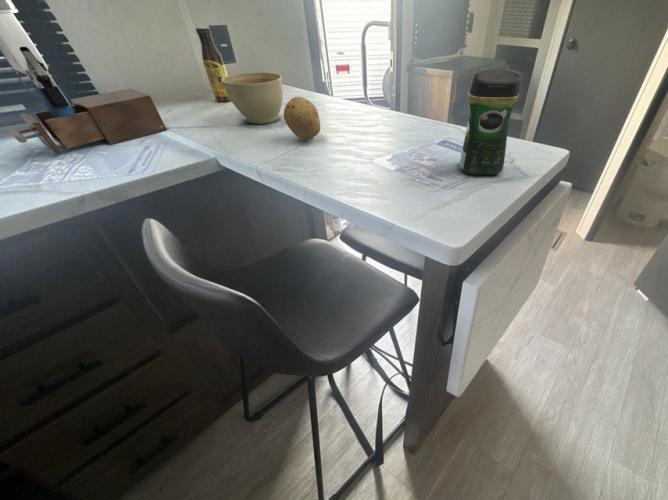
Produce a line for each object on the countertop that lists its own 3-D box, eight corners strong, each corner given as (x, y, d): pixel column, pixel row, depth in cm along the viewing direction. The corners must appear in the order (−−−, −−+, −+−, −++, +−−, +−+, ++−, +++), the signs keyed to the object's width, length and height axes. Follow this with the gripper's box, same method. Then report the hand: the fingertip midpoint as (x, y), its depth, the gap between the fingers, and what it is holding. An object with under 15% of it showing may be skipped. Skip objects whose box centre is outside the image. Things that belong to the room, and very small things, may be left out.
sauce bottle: (212, 101, 111) (184, 27, 96) (223, 97, 115) (198, 25, 101) (229, 103, 110) (203, 28, 95) (239, 98, 114) (216, 26, 100)
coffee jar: (499, 162, 74) (520, 65, 60) (503, 177, 68) (528, 74, 55) (458, 161, 74) (470, 64, 61) (459, 175, 69) (472, 73, 55)
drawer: (33, 159, 74) (7, 128, 69) (21, 148, 79) (-4, 118, 74) (117, 138, 84) (99, 109, 79) (101, 129, 89) (83, 101, 84)
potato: (292, 134, 88) (282, 92, 80) (324, 133, 88) (317, 91, 81) (287, 146, 81) (276, 102, 74) (322, 145, 82) (314, 101, 75)
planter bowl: (290, 126, 92) (280, 82, 85) (232, 130, 90) (216, 85, 82) (290, 110, 103) (281, 70, 96) (239, 113, 101) (225, 72, 93)
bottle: (70, 138, 80) (30, 82, 71) (64, 134, 81) (24, 79, 73) (91, 133, 82) (55, 78, 73) (84, 129, 84) (49, 75, 75)
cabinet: (110, 144, 83) (87, 107, 77) (93, 134, 88) (70, 99, 82) (167, 129, 91) (149, 95, 85) (148, 121, 96) (130, 88, 90)
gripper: (-45, 2, 65) (29, 102, 79) (-29, 6, 58) (49, 115, 71) (2, 1, 70) (65, 96, 83) (23, 4, 62) (88, 108, 75)
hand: (57, 104), depth 77 cm, fingers closed on bottle, 4 cm apart
